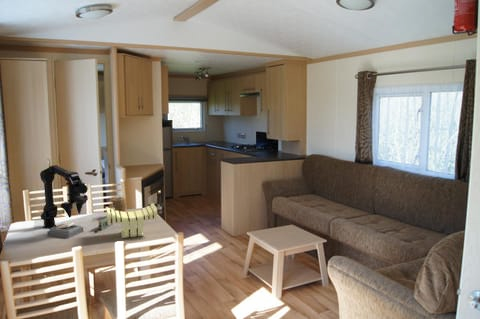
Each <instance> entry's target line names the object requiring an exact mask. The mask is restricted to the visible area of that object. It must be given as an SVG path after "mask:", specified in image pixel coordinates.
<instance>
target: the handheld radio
mask: <svg viewBox="0 0 480 319" xmlns="http://www.w3.org/2000/svg"><path fill="white" fill-rule="evenodd" d="M110 214H111V213H110ZM115 218H116V219H117V217H116V213H115ZM111 219H112V214H111ZM112 225H114V224H113V223H111V224H110V225H108V222H107V216H106V217H104V218H102V219H100V220H98V229H96V230H94V232H95V233H98V232H100V231H103V230H105V229H107V228H109V227H111V226H112Z"/></svg>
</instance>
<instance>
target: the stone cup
mask: <svg viewBox="0 0 480 319" xmlns="http://www.w3.org/2000/svg"><path fill="white" fill-rule="evenodd" d="M111 201H112V205H113V208H114V211H116V210H117V211H119V214H120V211H122V212H126V213H127V216H128V212H129V211H127V202H126V197H124V196H121V197H116V198H113V199H112V200H111ZM120 218H121V215H120ZM128 218H129V216H128Z"/></svg>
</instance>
